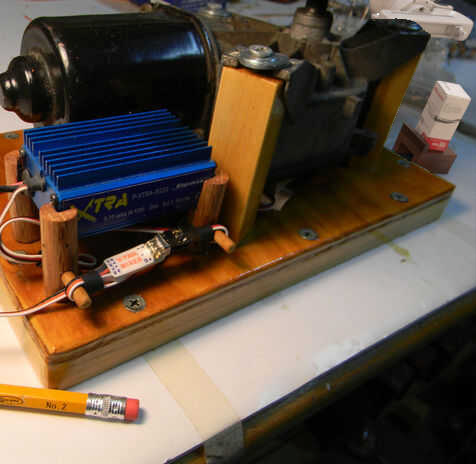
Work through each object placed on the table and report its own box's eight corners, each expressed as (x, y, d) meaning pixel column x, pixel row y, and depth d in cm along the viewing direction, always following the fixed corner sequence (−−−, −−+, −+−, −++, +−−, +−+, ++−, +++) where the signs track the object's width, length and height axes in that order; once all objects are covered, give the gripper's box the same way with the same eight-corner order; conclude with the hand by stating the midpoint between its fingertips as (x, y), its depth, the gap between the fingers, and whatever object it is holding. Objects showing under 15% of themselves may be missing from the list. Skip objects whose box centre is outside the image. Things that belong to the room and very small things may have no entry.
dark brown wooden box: (424, 150, 108) (437, 124, 104) (447, 173, 101) (462, 146, 97) (392, 148, 108) (403, 122, 103) (412, 172, 100) (425, 144, 96)
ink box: (445, 153, 98) (473, 99, 91) (421, 148, 99) (447, 95, 91) (435, 134, 105) (460, 83, 97) (412, 130, 105) (436, 79, 98)
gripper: (372, -1, 107) (400, 16, 96) (456, 5, 109) (492, 22, 98) (363, 28, 111) (388, 47, 100) (444, 34, 113) (477, 53, 102)
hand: (441, 35), depth 99 cm, fingers open, 8 cm apart
